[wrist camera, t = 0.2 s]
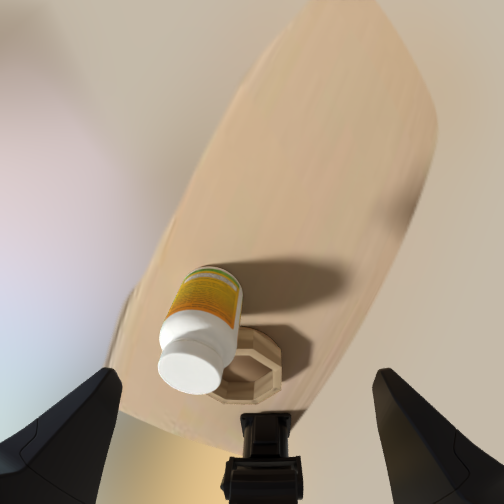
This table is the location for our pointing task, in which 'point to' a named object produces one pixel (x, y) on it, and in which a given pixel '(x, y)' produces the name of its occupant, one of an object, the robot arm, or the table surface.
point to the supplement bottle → (201, 331)
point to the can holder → (251, 370)
